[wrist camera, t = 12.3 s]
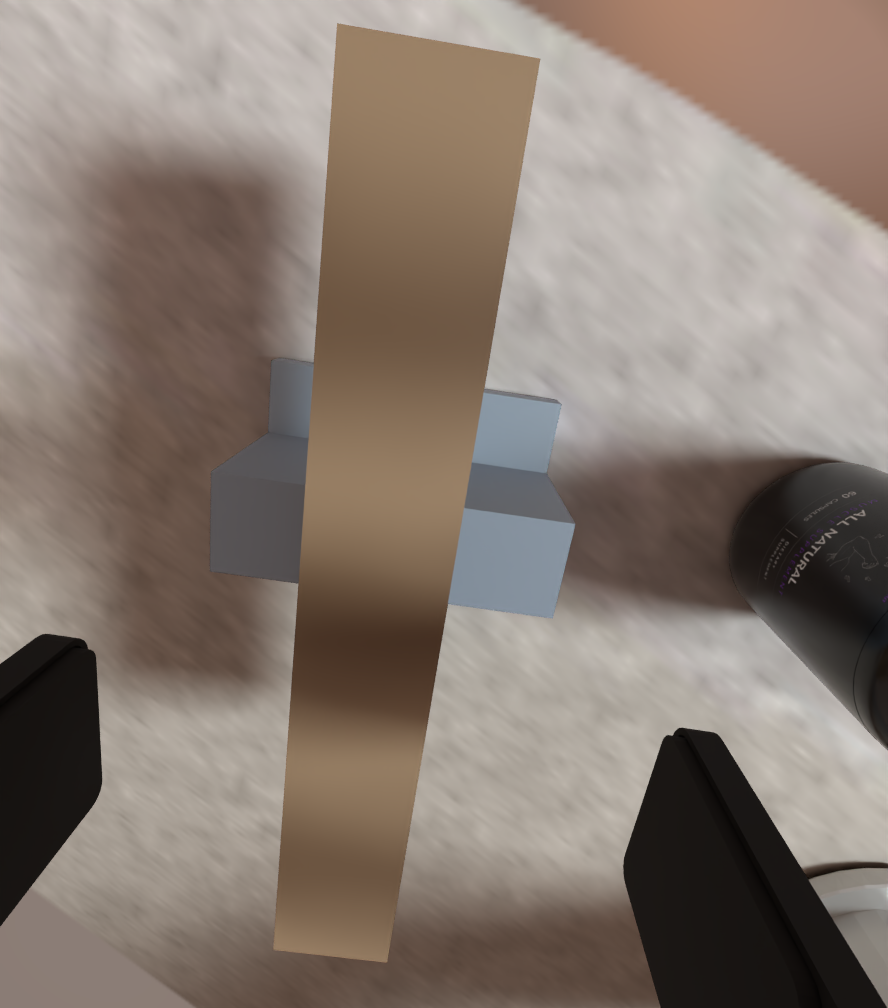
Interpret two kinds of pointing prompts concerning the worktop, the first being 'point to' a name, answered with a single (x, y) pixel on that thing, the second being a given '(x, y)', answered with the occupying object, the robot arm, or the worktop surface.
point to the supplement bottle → (824, 578)
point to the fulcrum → (486, 517)
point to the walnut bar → (389, 455)
